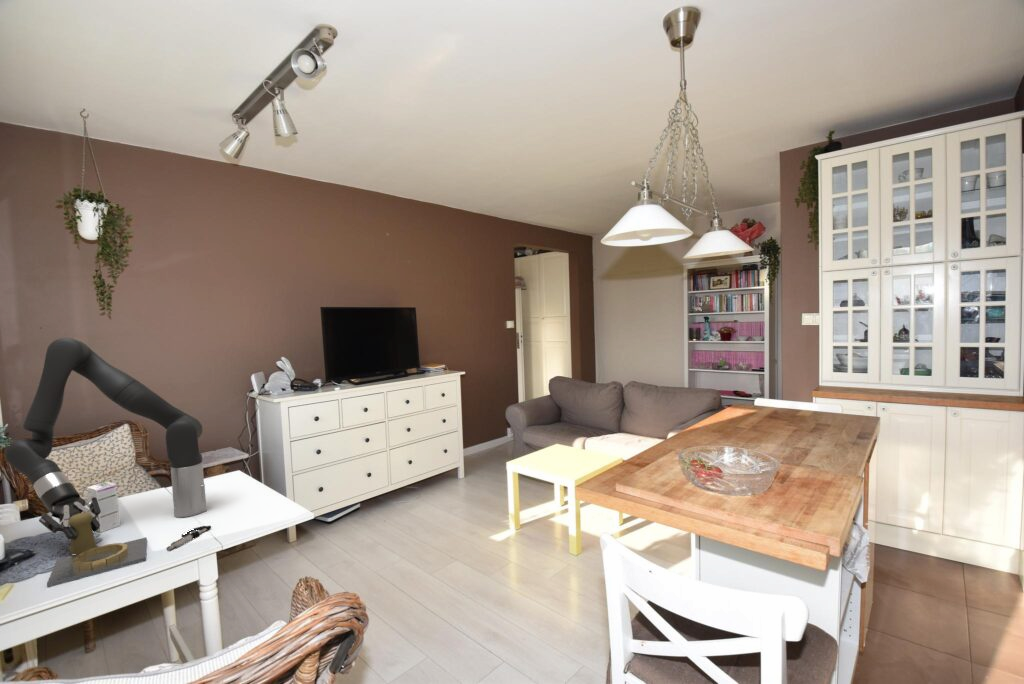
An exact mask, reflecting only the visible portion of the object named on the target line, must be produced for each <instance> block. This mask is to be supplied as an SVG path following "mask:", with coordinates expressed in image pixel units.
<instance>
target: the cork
mask: <svg viewBox="0 0 1024 684" xmlns="http://www.w3.org/2000/svg"><path fill="white" fill-rule="evenodd" d="M91 521H92V515H91V514H90V513H88V512H84V513H83V512H82V513H79V514H76V515H73V516H72V517H71V518H70V519H69V526H72V528H73V529H74V531H75V532H76V534H77V538H76V539H75V540H71V539H70V544H69V545H70V546H69V555H70V554H80V553H82V552H85V551H87V550H90V549H92V548H95V547H98V546H97V542H96V538H95V534H94V531H93V530H92V527H91V524H90V523H91Z"/></svg>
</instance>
